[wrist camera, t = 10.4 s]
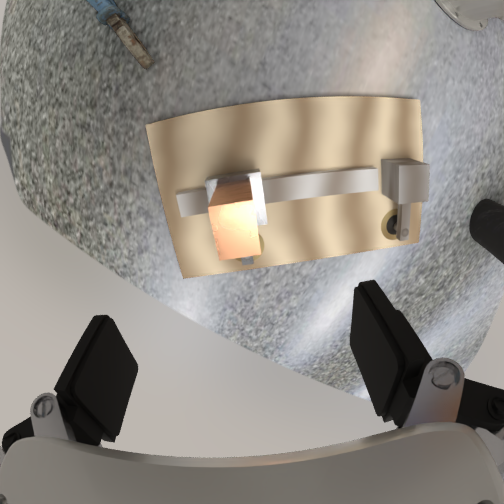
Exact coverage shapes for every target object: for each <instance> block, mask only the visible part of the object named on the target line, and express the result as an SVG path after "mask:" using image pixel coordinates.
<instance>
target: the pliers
mask: <svg viewBox="0 0 504 504" xmlns="http://www.w3.org/2000/svg"><path fill="white" fill-rule="evenodd" d="M87 1H88V2H89V3H90V4H91V5H92V6H93V7H94V8H95V9H96V10H97V11H98V14H97V16H96V18H97V19H98V20H99V22H100V23H102V24H103V25H109V26H110V28H111V29H112V30H114V31H115V33H116V34H117V36H118V37H119V38H120V40H121V41H122V42H123V44H124V45H125V46H126V48H127V49H128V50H129V51H130V52H131V54H132V55H133V56H134V57H135V58H136V60H137V61H138V62H139V63H140V65H141V66H142V67H143V68H144V69H147V68H148V67H150V66H151V65H152V64H154V63H155V62H154V60H153V59H152V57H151V56H150V54H149V53H148V51H147V50H146V48H145V47H144V45H143V44H142V43H141V41H140V40H139V39H138V37H137V36H136V35H135V33H134V32H133V31H132V30H131V29H130V27H129V25H128V24H127V23H128V22H129V20H130V19H129V17H128V16H127V15H126V14H125V13H124V12H123V11H122V10H120V9H118V8H117V6H116V4H115V2H114V1H113V0H87Z"/></svg>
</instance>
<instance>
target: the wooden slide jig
mask: <svg viewBox="0 0 504 504" xmlns="http://www.w3.org/2000/svg"><path fill="white" fill-rule="evenodd" d="M146 130H147V135H148V140H149V145H150V150H151V155H152V160H153V164H154V169H155V174H156V178H157V182H158V187H159V191H160V195H161V199H162V203H163V207H164V211H165V215H166V219H167V223H168V227H169V230H170V234H171V238H172V241H173V245H174V249H175V252H176V256H177V259H178V262H179V266H180V269H181V273H182V276H183V279H184V278H191V277H199V276H206V275H213V274H221V273H228V272H235V271H242V270H249V269H256V268H262V267H269V266H276V265H283V264H289V263H296V262H302V261H309V260H315V259H322V258H328V257H335V256H341V255H347V254H353V253H359V252H366V251H372V250H378V249H384V248H390V247H396V246H401V245H407V244H413V243H419V234H420V223H421V210H422V202H427V201H428V198H429V164H426V163H423V139H422V121H421V108H420V100H415V99H404V98H389V97H365V96H334V97H308V98H293V99H282V100H272V101H263V102H255V103H247V104H240V105H234V106H228V107H222V108H216V109H211V110H206V111H201V112H196V113H191V114H187V115H182V116H178V117H174V118H170V119H166V120H162V121H158V122H154V123H151V124H147V125H146ZM258 168H259V170H260V173H261V180H262V187H263V194H264V201H265V208H266V216H267V223H268V224H265V225H258V226H257V229H258V235H259V242H260V249H261V255H255V256H253V259H254V264H249V265H242V260H241V258H235V259H228V260H221V261H219V257H218V252H217V248H216V243H215V239H214V234H213V229H212V225H211V220H210V215H209V210H208V206H209V200H208V195H207V190H206V185H205V180H206V178H207V177H209V176H214V175H220V174H226V173H232V172H238V171H245V170H251V169H258Z"/></svg>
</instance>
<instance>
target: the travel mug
mask: <svg viewBox="0 0 504 504" xmlns="http://www.w3.org/2000/svg"><path fill="white" fill-rule="evenodd" d="M470 233H471V236H472V238H473V239H474V240H475V241H477V242H478V243H479V244H480V245H481V246H483V247H484V248H485V249H486V250H488V251H489V252H490V253H491V254H493V255H494V256H495V257H496V258H497V259H499V260H500V261H501V262H502V263H503V264H504V206H503V205H501V204H498V203H496V202H494V201H492V200H489V199H485V200H482V201H481V202H480V203H479V204H478V205H477V206H476V207H475V209H474V211H473V213H472V216H471V220H470Z"/></svg>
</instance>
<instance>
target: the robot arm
mask: <svg viewBox="0 0 504 504" xmlns="http://www.w3.org/2000/svg"><path fill="white" fill-rule="evenodd" d="M436 2H437V3H438V4H439V6H440V7H441V8H442V9H443V10H444V11H445V12H446V13H447V14H448V15H449V16H450V17H451V18H452V19H453V20H454V21H455V22H456V23H458V24H459V25H461V26H462V27H464V28H466V29H468V30H472V31H479V30H483V29H485V28H486V26H487V24H488V19H489V18H494V17H496V18H497V17H498V18H499V19H501V20H502V21H504V0H436ZM350 346H351V349H352V352H353V354H354V357H355V359H356V362H357V364H358V367H359V369H360V372H361V374H362V377H363V379H364V382H365V385H366V387H367V390H368V393H369V395H370V398H371V401H372V403H373V406H374V409H375V412H376V414H377V416H382V418H383V421H384V422H388V421H391V420H393V421H394V423H395V425H397V428H396V429H395V430H391V431H388V432H384V433H380V434H376V435H372V436H369V437H365V438H361V439H357V440H353V441H349V442H344V443H340V444H335V445H330V446H325V447H320V448H315V449H309V450H303V451H296V452H289V453H281V454H272V455H263V456H249V457H227V458H194V457H193V458H192V457H173V456H159V455H149V454H140V453H133V452H126V451H120V450H114V449H108V448H103V447H102V445H101V443H100V442H101V439H103V440H104V441H109V442H115V439H116V436H118V435H119V433H120V430H121V426H122V422H123V418H124V415H125V412H126V408H127V405H128V402H129V398H130V395H131V392H132V388H133V385H134V382H135V379H136V376H137V373H138V364H137V362H136V360H135V359H134V357H133V355H132V354H131V352H130V350H129V348H128V346H127V345H126V343H125V341H124V339H123V337H122V335H121V333H120V332H119V330H118V328H117V326H116V324H115V322H114V320H113V319H112V318H110V317H109V316H108V315H96V316H94V317H93V318H92V320H91V322H90V323H89V325H88V327H87V328H86V330H85V332H84V333H83V335H82V337H81V339H80V340H79V342H78V344H77V346H76V347H75V349H74V351H73V353H72V355H71V357H70V359H69V360H68V362H67V364H66V366H65V368H64V370H63V372H62V374H61V376H60V378H59V380H58V382H57V384H56V386H55V388H54V390H55V391H56V392H57V395H56V396H55V395H53V394H52V393H43V394H41V395H39V396H38V397H37V398H36V399H35V400H34V401H33V403H32V405H31V409H30V412H31V413H30V414H31V417H29V418H28V419H26V420H24V421H23V422H21V423H19V424H18V425H16V426H14V427H12V428H11V429H9V430H8V431H7V432H6V433H5V434H4V436H3V441H2V447H1V446H0V504H504V390H503V389H499V388H495V387H492V386H489V385H485V384H482V383H479V382H475V381H472V380H469V379H466V378H464V371H463V369H462V367H461V366H460V365H459V364H458V363H457V362H456V361H454V360H452V359H449V358H436V359H434V360H432V358H431V356H430V355H429V353H428V352H427V350H426V348H425V347H424V345H423V344H422V342H421V341H420V339H419V337H418V336H417V334H416V333H415V331H414V330H413V328H412V327H411V325H410V324H409V322H408V321H407V319H406V318H405V316H404V315H403V313H402V312H401V311H399V310H395V308H394V307H393V305H392V304H391V302H390V301H389V299H388V298H387V296H386V295H385V294H384V292H383V291H382V289H381V288H380V286H379V285H378V284H377V282H376V281H375V280H370V281H364V282H360V283H359V285H358V287H355V289H354V299H353V312H352V323H351V333H350Z"/></svg>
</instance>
